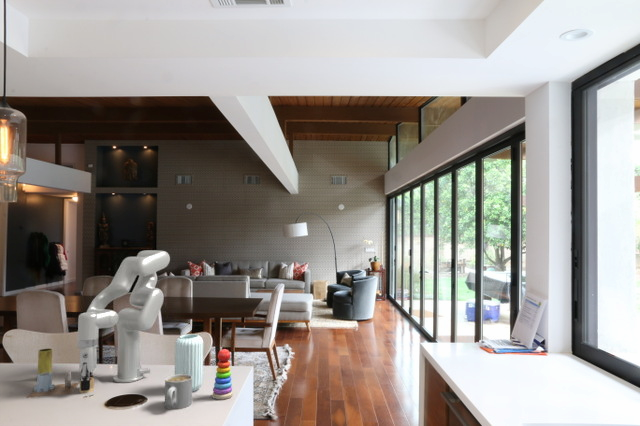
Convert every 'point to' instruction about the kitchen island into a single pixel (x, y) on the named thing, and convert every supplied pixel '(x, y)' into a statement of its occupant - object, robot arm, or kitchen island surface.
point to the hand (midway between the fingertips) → (86, 387)
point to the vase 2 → (190, 358)
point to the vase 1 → (44, 361)
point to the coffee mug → (178, 391)
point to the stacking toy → (223, 377)
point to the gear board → (57, 388)
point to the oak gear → (90, 386)
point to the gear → (44, 383)
